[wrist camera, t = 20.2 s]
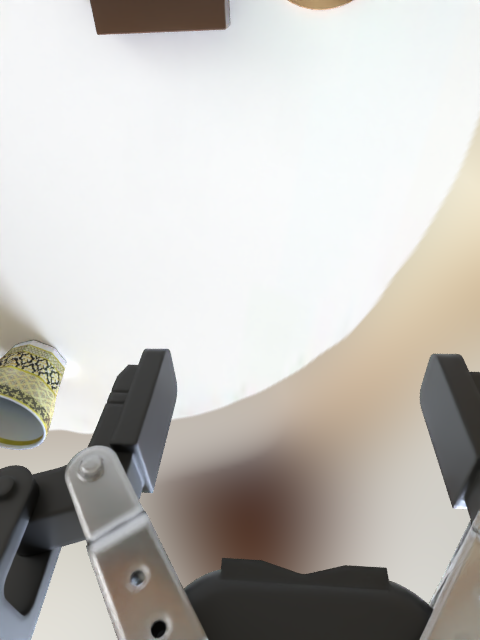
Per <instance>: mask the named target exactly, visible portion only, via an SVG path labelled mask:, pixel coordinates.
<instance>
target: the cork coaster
mask: <svg viewBox="0 0 480 640" xmlns="http://www.w3.org/2000/svg"><path fill="white" fill-rule="evenodd" d="M288 1H290V2H291V3H293V4H296V5H298V6H300V7H304V8H307V9H314V10H326V9H332V8H337V7H340V6H343V5H345V4H348V3H350V2H352V1H353V0H288Z"/></svg>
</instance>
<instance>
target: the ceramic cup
mask: <svg viewBox="0 0 480 640" xmlns="http://www.w3.org/2000/svg"><path fill="white" fill-rule="evenodd" d="M65 367H66V361H65V360H64V359H63V358H62V356H61V355H60V354H59V353H58V351H57V350H56V349H55V348H53V347H51V346H48V345H45V344H43V343H40V342H37V341H35V340H32V341H28V342H24V343H20V344H17V345H15V346H14V347H13V348H12V349H11V350H10V351H9V352H7V353H6V354H5V355H4V356H3V357H2V358H1V359H0V447H3V448H7V449H16V450H24V449H31V448H34V447H37V446H38V445H40V444H41V443H43V441H44V440H45V438H46V436H47V433H48V430H49V427H50V423H51V420H52V416H53V412H54V407H55V400H56V396H57V392H58V389H59V386H60V383H61V380H62V377H63V374H64V370H65Z"/></svg>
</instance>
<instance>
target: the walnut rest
mask: <svg viewBox="0 0 480 640" xmlns="http://www.w3.org/2000/svg"><path fill="white" fill-rule="evenodd" d="M90 3H91V7H92V12H93V17H94V22H95V27H96V31H97V34H98V35H106V34H130V33H155V32H179V31H203V30H225V29H227V28H228V27H229V26H230V9H229V0H90Z"/></svg>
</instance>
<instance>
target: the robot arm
mask: <svg viewBox="0 0 480 640" xmlns="http://www.w3.org/2000/svg"><path fill="white" fill-rule="evenodd" d="M176 397H177V382H176V377H175V372H174V367H173V363H172V358H171V353H170V351H169V349H145V350H144V351H143V354H142V356H141V359H140V362H139V364H138V365H128V366H127V367H126V368H125V369H124V370H123V371H122V372H121V373H120V374H119V375H118V376H117V378H116V381H115V383H114V385H113V388H112V392H111V393H110V395H109V398H108V400H107V404H106V405H105V407H104V410H103V412H102V414H101V417H100V419H99V422H98V424H97V427H96V429H95V431H94V434H93V436H92V439H91V441H90V443H89V445H88V447H87V448H86V449H84V450H82V451H80V452H79V453H77V454H76V455H75V456H74V457H73V458H72V459H71V461H70V462H69V463H68V465H65V466H63V467H60V468H57V469H53V470H49V471H45V472H41V473H37V474H33V475H32V474H31V472H30V471H29V470H28V469H27V468H25V467H23V466H17V465H15V466H8V467H5V468H2V469H0V640H31V638H32V635H33V632H34V629H35V625H36V623H37V620H38V617H39V614H40V611H41V608H42V605H43V602H44V599H45V596H46V593H47V590H48V586H49V583H50V580H51V577H52V574H53V571H54V568H55V565H56V562H57V559H58V556H59V553H60V550H61V547H62V546H66V545H69V544H73V543H76V542H79V541H83V540H86V541H87V546H86V547H87V551H88V555H89V558H90V561H91V564H92V567H93V570H94V572H95V575H96V578H97V581H98V584H99V587H100V590H101V593H102V595H103V598H104V601H105V604H106V607H107V610H108V613H109V615H110V618H111V621H112V624H113V627H114V630H115V633H116V635H117V638H118V640H480V372H469V370H468V368H467V366H466V364H465V362H464V359H463V358H462V356H461V355H459V354H432V355H431V357H430V359H429V363H428V366H427V369H426V372H425V376H424V379H423V382H422V385H421V389H420V404H421V409H422V411H423V415H424V419H425V422H426V425H427V428H428V431H429V434H430V437H431V441H432V444H433V447H434V450H435V453H436V457H437V459H438V463H439V466H440V469H441V472H442V475H443V479H444V482H445V485H446V488H447V491H448V495H449V498H450V501H451V504H452V507H453V508H459V509H468V512H469V515H470V518H471V520H470V522H469V524H468V526H467V528H466V530H465V532H464V534H463V536H462V538H461V540H460V543H459V544H458V547H457V549H456V551H455V553H454V555H453V557H452V559H451V561H450V563H449V565H448V567H447V569H446V571H445V573H444V575H443V577H442V579H441V581H440V583H439V585H438V587H437V589H436V591H435V593H434V595H433V596H432V598H431V600H430V602H429V604H427V603H426V602H425V601H424V600H422V599H421V598H420V597H419V596H417V595H416V594H415V593H413V592H411V591H410V590H408V589H407V588H405V587H403V586H401V585H399V584H397V583H394V582H392V581H389V579H388V574H387V568H380V567H363V566H347V565H345V566H340V567H336V568H332V569H327V570H323V571H318V572H314V573H309V574H300V573H296V572H293V571H291V570H288V569H285V568H282V567H279V566H276V565H273V564H271V563H268V562H265V561H261V560H246V559H231V558H222V566H221V570H217V571H213V572H210V573H208V574H205V575H203V576H201V577H200V578H198V579H196V580H194V581H193V582H192V583H190V584H189V585H188V586H187V587H185V588H184V589H183V587H182V585H181V583H180V581H179V579H178V576H177V574H176V572H175V570H174V568H173V566H172V564H171V562H170V560H169V558H168V556H167V554H166V552H165V550H164V548H163V546H162V544H161V542H160V540H159V538H158V535H157V533H156V531H155V529H154V527H153V525H152V523H151V521H150V519H149V517H148V515H147V514H146V512H145V511H144V510H143V508H142V506H141V504H140V502H139V499H140V495H141V492H144V493H153V490H154V486H155V482H156V478H157V474H158V470H159V466H160V462H161V458H162V454H163V450H164V446H165V442H166V438H167V434H168V430H169V426H170V422H171V418H172V414H173V410H174V407H175V403H176Z"/></svg>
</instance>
